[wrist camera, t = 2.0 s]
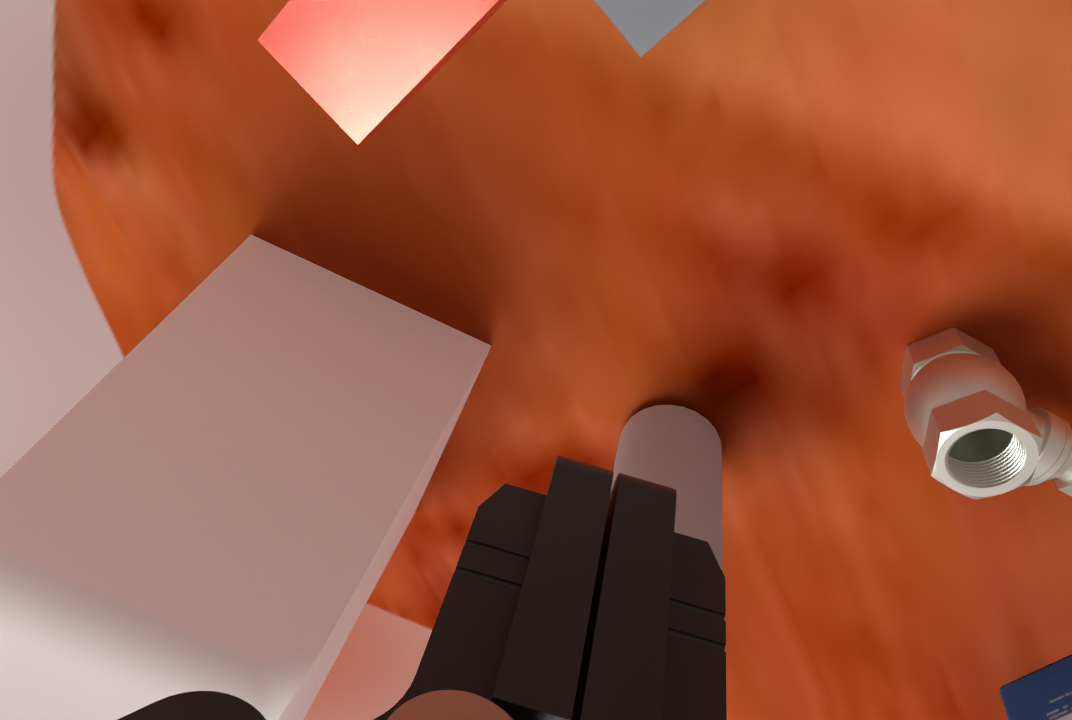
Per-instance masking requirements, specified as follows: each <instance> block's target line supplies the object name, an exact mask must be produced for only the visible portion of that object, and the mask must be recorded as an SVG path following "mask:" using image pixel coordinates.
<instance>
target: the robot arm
mask: <svg viewBox="0 0 1072 720" xmlns="http://www.w3.org/2000/svg"><path fill="white" fill-rule="evenodd" d="M613 474H614V472H613V471H610V470H607V469H603V468H600V467H596V466H593V465H589V464H586V463H582V462H579V461H575V460H572V459H568V458H565V457H561V456H558V457H557V460H556V463H555V467H554V470H553V474H552V477H551V481H550V484H549V488H548V492H547V495H543V494H540V493H536V492H533V491H529V490H526V489H522V488H519V487H515V486H512V485H508V484H505V485H503V486H502V487H501V488H500V489H499V490H498V491H496V492H495V493H494V494H493V495H492V496H490V497H489V498H488V499H487V500H486V501H485V502H483V503H482V504H481V505H480V506H479V507H478V510H477V513H476V515H475V518H474V521H473V523H472V526H471V529H470V531H469V534H468V537H467V540H466V543H465V545H464V547H463V550H462V553H461V555H460V558H459V561H458V563H457V566H456V570H455V573H454V574H453V577H452V579H451V582H450V585H449V587H448V590H447V593H446V596H445V598H444V601H443V604H442V606H441V609H440V612H439V614H438V617H437V620H436V622H435V625H434V628H433V630H432V633H431V636H430V638H429V641H428V644H427V646H426V649H425V652H424V654H423V657H422V660H421V662H420V665H419V668H418V670H417V673H416V676H415V678H414V680H413V682H412V684H411V686H410V688H409V689H408V690H407V692H406V693H405V695H404V696H403V697H402V698H401V699H400V700H399V701H398V703H396V705H395V706H393V707H392V708H391V709H390V710H388V711H387V712H386V713H385V714H383V715H381V716H379V717H377V718H376V719H374V720H726V652H724V648H725V645H726V621H724V617H725V576H724V574H723V572H722V570H721V568H720V566H719V564H718V562H717V560H716V557H715V555H714V553H713V551H712V549H711V547H710V545H709V543H708V542H707V541H704V540H700V539H697V538H693V537H690V536H686V535H683V534H679V533H676V532H674V529H675V514H676V499H677V493H676V489H674V488H671V487H667V486H664V485H660V484H657V483H653V482H650V481H646V480H643V479H639V478H636V477H632V476H629V475H625V474H622V473H618V475H617V477H616V480H615V482H614V485H613V488H612V491H611V487H612V481H613ZM610 493H611V494H610ZM118 720H266V719H265V718H264V716H263V715H262V714H261V713H260V712H259V711H258V710H257V709H256V708H255V707H253V706H252V705H251V704H249V703H248V702H246V701H244V700H242V699H241V698H238V697H235V696H233V695H230V694H227V693H221V692H216V691H192V692H184V693H180V694H176V695H172V696H169V697H166V698H163V699H161V700H158V701H156V702H154V703H152V704H149V705H147V706H145V707H143V708H141V709H139V710H137V711H135V712H132V713H130V714H128V715H126V716H124V717H122V718H120V719H118Z"/></svg>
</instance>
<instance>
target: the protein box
mask: <svg viewBox="0 0 1072 720" xmlns="http://www.w3.org/2000/svg"><path fill="white" fill-rule="evenodd" d="M999 693H1000V695H1001V698H1002V701H1003V704H1004V707H1005V710H1006V713H1007V716H1008V719H1009V720H1072V655H1071V656H1069V657H1067V658H1065V659H1062V660H1060V661H1058V662H1056V663H1054V664H1051V665H1049V666H1047V667H1045V668H1042V669H1040V670H1038V671H1036V672H1034V673H1032V674H1029V675H1027V676H1025V677H1023V678H1021V679H1018V680H1016V681H1014V682H1012V683H1010V684H1007V685H1005V686H1003V687H1002V688H1001V689H1000V692H999Z"/></svg>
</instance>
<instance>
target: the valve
mask: <svg viewBox="0 0 1072 720" xmlns="http://www.w3.org/2000/svg"><path fill="white" fill-rule="evenodd" d="M900 387H901V390H902V393H903V396H904V399H905V405H904V411H905V417H906V421H907V424H908V427H909V429H910V431H911V433H912V435H913V436H914V438H915V439H916V440H917V442H918V443H919V444H920V445H921V446H922V447H923V454H924V457H925V460H926V463H927V466H928V469H929V472H930V474H931V476H932V477H934V478H935V479H937V480H938V481H940V482H941V483H943V484H944V485H946V486H948V487H949V488H951V489H953V490H955V491H957V492H959V493H961V494H963V495H965V496H967V497H969V498H972V499H981V498H987V497H991V496H995V495H999V494H1003V493H1006V492H1008V491H1011V490H1014V489H1016V488H1018V487H1021V486H1023V485H1025V486H1033V485H1037V484H1040V483H1042V482H1044V481H1046V480H1049V479H1053V481H1054V483H1055V485H1056V487H1057V488H1058V490H1060V491H1062V492H1064V493H1066V494H1068V495H1069V496H1071V497H1072V429H1071V426H1070V425H1069V424H1068V423H1067V421H1065V420H1063V419H1062V418H1060V417H1058V416H1056V415H1055V414H1053V413H1051V412H1049V411H1048V410H1046V409H1044V408H1040V407H1033V408H1028V409H1027V408H1026V400H1025V397H1024V394H1023V391H1022V389H1021V387H1020V385H1019V384H1018V382H1017V381H1016V379H1015V378H1014V377H1013V375H1012V374H1011V373H1010V372H1009V371H1008V370H1007V369H1005V368H1004V367H1003V366H1002V365H1001V363H1000V361H999V359H998V358H997V356H996V354H995V352H994V350H993V349H992V348H990V347H989V346H987V345H985V344H983V343H982V342H980V341H978V340H976V339H974V338H973V337H971V336H969V335H967V334H966V333H964V332H962V331H960V330H959V329H957V328H955V327H952V328H949V329H947V330H944V331H942V332H939V333H937V334H934V335H932V336H929V337H927V338H924V339H922V340H919V341H917V342H914V343H912V344H910V345H908V346H907V347H906V352H905V358H904V363H903V369H902V374H901V380H900Z"/></svg>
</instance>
